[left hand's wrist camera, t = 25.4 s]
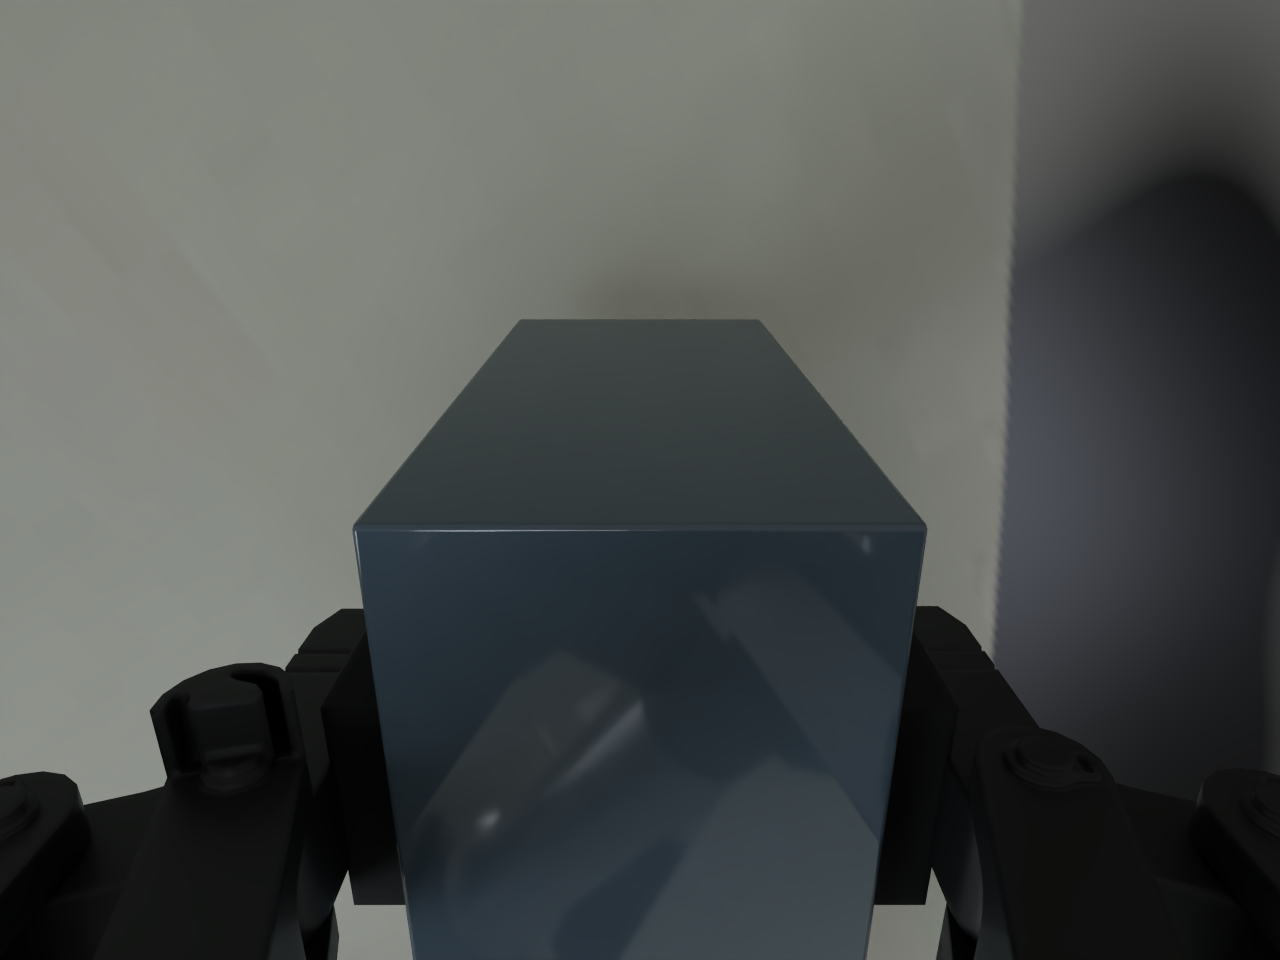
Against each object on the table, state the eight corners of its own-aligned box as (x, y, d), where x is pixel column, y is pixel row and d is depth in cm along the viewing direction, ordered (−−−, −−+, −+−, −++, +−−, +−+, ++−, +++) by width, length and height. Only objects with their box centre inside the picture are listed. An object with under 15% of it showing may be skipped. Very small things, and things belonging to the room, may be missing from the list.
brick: (761, 318, 17) (931, 525, 7) (744, 613, 19) (853, 1068, 9) (518, 318, 17) (349, 525, 7) (534, 613, 19) (426, 1069, 9)
